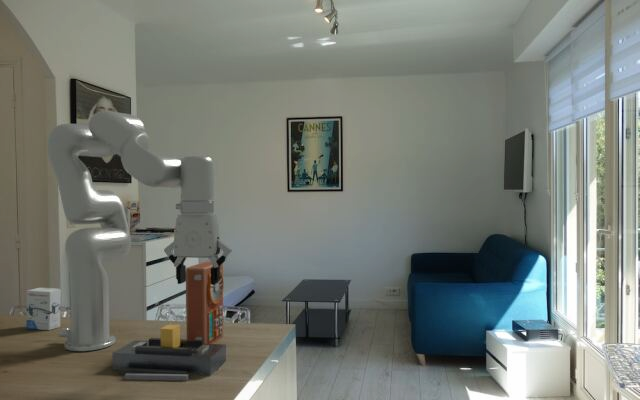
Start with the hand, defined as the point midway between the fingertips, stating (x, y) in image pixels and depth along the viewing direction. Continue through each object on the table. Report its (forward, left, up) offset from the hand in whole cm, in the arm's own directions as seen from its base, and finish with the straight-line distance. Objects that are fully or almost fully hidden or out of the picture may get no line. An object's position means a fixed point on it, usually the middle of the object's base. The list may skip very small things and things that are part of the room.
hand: (198, 282), depth 120 cm
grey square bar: (-6, -9, -20) cm, 23 cm away
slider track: (-7, 0, -20) cm, 21 cm away
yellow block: (-7, 0, -16) cm, 17 cm away
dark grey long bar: (-8, -7, -20) cm, 23 cm away
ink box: (-61, +26, -20) cm, 69 cm away
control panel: (-6, +19, -20) cm, 28 cm away
